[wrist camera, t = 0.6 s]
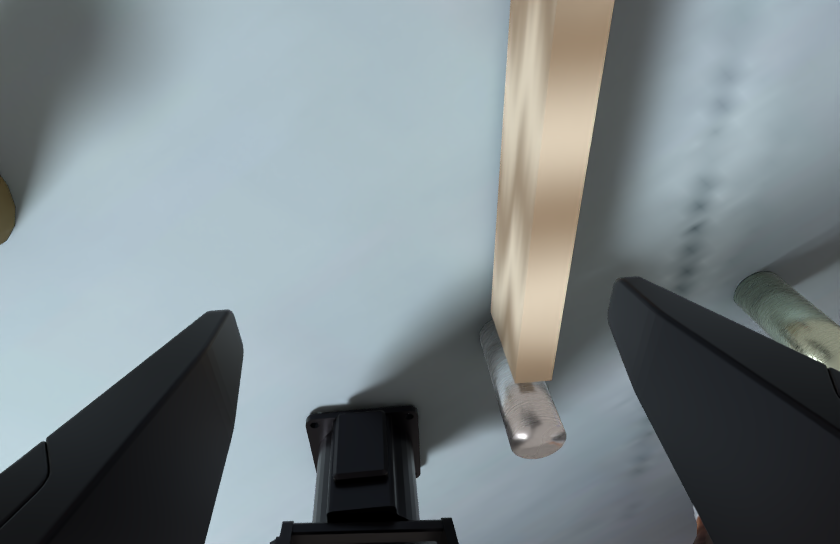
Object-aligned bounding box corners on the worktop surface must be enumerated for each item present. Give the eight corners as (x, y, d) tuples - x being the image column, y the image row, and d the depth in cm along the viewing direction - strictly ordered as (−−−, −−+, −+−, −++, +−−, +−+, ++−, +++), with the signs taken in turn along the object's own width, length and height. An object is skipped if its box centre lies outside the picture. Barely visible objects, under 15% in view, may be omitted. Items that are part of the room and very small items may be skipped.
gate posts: (772, 303, 28) (881, 399, 22) (481, 354, 28) (512, 463, 22) (784, 267, 26) (903, 359, 21) (477, 320, 27) (509, 428, 21)
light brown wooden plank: (529, 308, 26) (560, 379, 22) (482, 312, 26) (505, 384, 21) (577, -105, 16) (650, -121, 12) (505, -103, 16) (553, -118, 12)
